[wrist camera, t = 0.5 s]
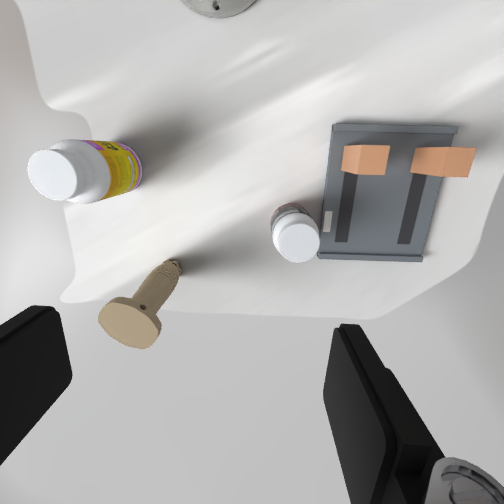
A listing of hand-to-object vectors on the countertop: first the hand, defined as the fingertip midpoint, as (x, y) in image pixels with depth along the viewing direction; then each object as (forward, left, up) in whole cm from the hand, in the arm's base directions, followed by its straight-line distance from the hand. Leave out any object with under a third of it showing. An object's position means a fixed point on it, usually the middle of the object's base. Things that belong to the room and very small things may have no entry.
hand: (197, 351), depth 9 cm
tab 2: (-6, +23, -30) cm, 38 cm away
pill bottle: (+3, +7, -31) cm, 32 cm away
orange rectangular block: (-6, +14, -30) cm, 33 cm away
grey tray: (-1, +19, -31) cm, 36 cm away
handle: (+11, -11, -31) cm, 35 cm away
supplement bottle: (-4, -17, -31) cm, 36 cm away
